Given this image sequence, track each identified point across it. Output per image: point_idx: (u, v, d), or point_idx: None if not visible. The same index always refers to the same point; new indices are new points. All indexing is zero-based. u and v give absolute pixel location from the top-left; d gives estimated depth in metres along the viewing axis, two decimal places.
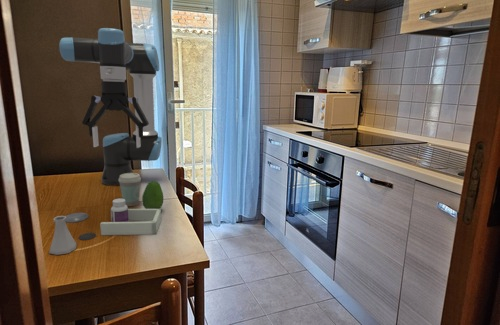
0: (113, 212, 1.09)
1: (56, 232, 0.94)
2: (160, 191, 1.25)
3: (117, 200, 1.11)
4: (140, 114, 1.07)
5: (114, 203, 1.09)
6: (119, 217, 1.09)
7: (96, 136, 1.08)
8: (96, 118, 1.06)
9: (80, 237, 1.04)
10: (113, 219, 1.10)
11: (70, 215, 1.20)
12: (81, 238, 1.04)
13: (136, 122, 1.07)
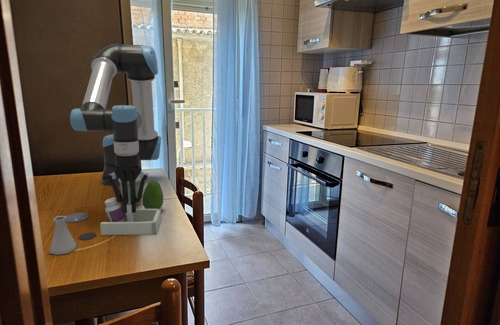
0: (108, 212, 1.09)
1: (56, 232, 0.94)
2: (160, 191, 1.25)
3: (109, 200, 1.10)
4: (140, 191, 1.09)
5: (106, 203, 1.09)
6: (114, 216, 1.09)
7: None
8: (124, 194, 1.09)
9: (80, 237, 1.04)
10: (110, 219, 1.10)
11: (70, 215, 1.20)
12: (81, 238, 1.04)
13: (132, 198, 1.10)
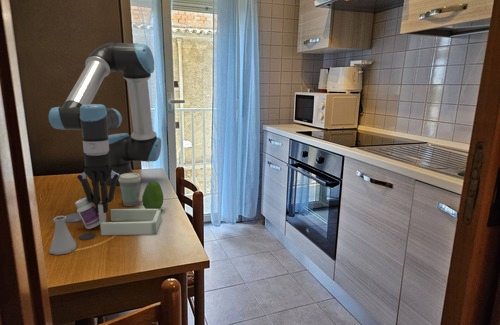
0: (79, 213, 1.08)
1: (56, 232, 0.94)
2: (160, 191, 1.25)
3: (79, 200, 1.09)
4: (111, 191, 1.08)
5: (76, 204, 1.07)
6: (86, 216, 1.08)
7: None
8: (95, 194, 1.08)
9: (80, 237, 1.04)
10: (82, 220, 1.09)
11: (70, 215, 1.20)
12: (81, 238, 1.04)
13: (103, 198, 1.08)
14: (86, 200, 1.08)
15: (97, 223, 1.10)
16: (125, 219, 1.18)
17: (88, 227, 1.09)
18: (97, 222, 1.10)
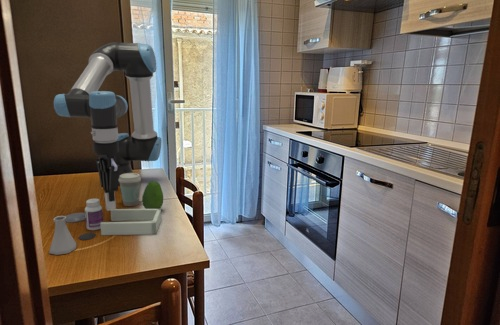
0: (86, 212, 1.08)
1: (56, 232, 0.94)
2: (160, 191, 1.25)
3: (91, 200, 1.09)
4: (110, 181, 1.05)
5: (87, 203, 1.08)
6: (92, 217, 1.08)
7: None
8: (103, 180, 1.09)
9: (80, 237, 1.04)
10: (87, 219, 1.09)
11: (70, 215, 1.20)
12: (81, 238, 1.04)
13: (107, 186, 1.08)
14: (98, 202, 1.09)
15: (99, 227, 1.10)
16: (125, 219, 1.18)
17: (89, 228, 1.09)
18: (99, 226, 1.10)
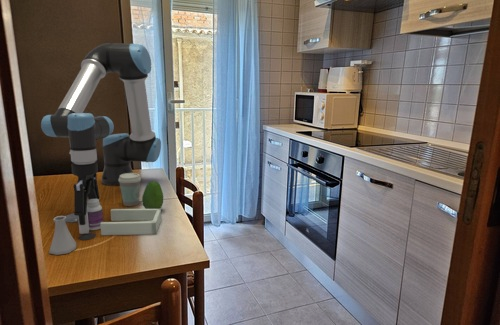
0: (86, 212, 1.08)
1: (56, 232, 0.94)
2: (160, 191, 1.25)
3: (91, 200, 1.09)
4: None
5: (87, 203, 1.08)
6: (92, 217, 1.08)
7: None
8: None
9: (80, 237, 1.04)
10: None
11: (70, 215, 1.20)
12: (81, 238, 1.04)
13: None
14: (98, 202, 1.09)
15: (99, 227, 1.10)
16: (125, 219, 1.18)
17: (89, 228, 1.09)
18: (99, 226, 1.10)
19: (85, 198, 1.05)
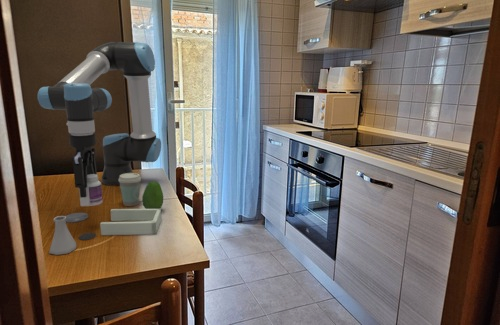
0: None
1: (56, 232, 0.94)
2: (160, 191, 1.25)
3: (89, 175, 1.08)
4: None
5: None
6: (91, 193, 1.07)
7: None
8: None
9: (80, 237, 1.04)
10: None
11: (70, 215, 1.20)
12: (81, 238, 1.04)
13: None
14: (96, 177, 1.08)
15: (98, 202, 1.09)
16: (125, 219, 1.18)
17: None
18: (98, 202, 1.09)
19: (84, 171, 1.04)
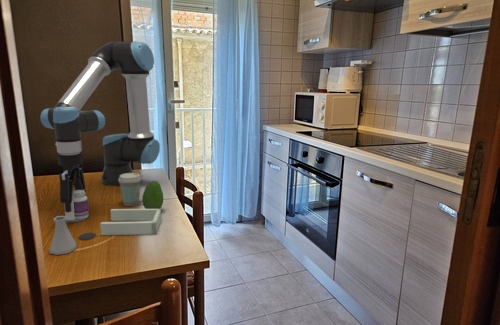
0: None
1: (56, 232, 0.94)
2: (160, 191, 1.25)
3: (76, 191, 1.16)
4: None
5: (73, 194, 1.15)
6: (77, 207, 1.15)
7: None
8: None
9: (80, 237, 1.04)
10: None
11: None
12: (81, 238, 1.04)
13: None
14: (83, 193, 1.16)
15: (84, 216, 1.17)
16: (125, 219, 1.18)
17: (75, 217, 1.16)
18: (84, 215, 1.17)
19: (70, 187, 1.12)
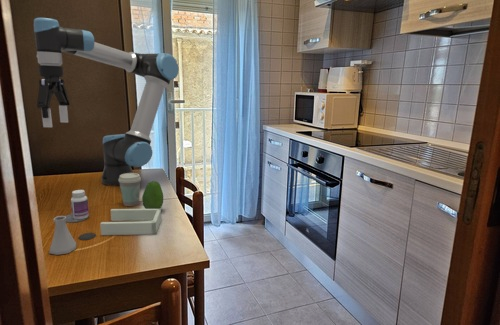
0: (72, 202, 1.15)
1: (56, 232, 0.94)
2: (160, 191, 1.25)
3: (76, 191, 1.16)
4: None
5: (73, 194, 1.15)
6: (77, 207, 1.15)
7: (62, 114, 1.28)
8: None
9: (80, 237, 1.04)
10: (72, 209, 1.16)
11: (70, 215, 1.20)
12: (81, 238, 1.04)
13: None
14: (83, 193, 1.16)
15: (84, 216, 1.17)
16: (125, 219, 1.18)
17: (75, 217, 1.16)
18: (84, 215, 1.17)
19: (49, 95, 1.15)
